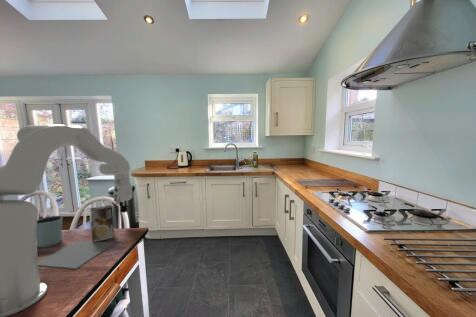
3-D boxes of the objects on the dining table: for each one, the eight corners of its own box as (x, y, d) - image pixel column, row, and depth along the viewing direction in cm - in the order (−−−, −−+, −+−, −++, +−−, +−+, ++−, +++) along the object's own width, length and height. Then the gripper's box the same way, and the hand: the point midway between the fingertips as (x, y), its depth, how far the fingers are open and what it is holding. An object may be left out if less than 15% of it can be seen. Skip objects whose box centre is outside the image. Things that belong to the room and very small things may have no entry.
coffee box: (112, 233, 103) (112, 204, 102) (114, 237, 98) (113, 207, 97) (91, 238, 97) (90, 207, 97) (91, 243, 92) (90, 210, 92)
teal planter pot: (32, 245, 92) (30, 221, 91) (59, 236, 101) (57, 214, 100) (40, 250, 87) (38, 225, 86) (68, 240, 96) (66, 217, 95)
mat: (76, 269, 73) (76, 268, 73) (32, 265, 76) (32, 264, 76) (114, 243, 92) (114, 243, 92) (78, 241, 95) (78, 240, 95)
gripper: (118, 184, 103) (120, 216, 104) (136, 179, 118) (137, 208, 119) (105, 183, 104) (107, 216, 105) (125, 179, 119) (127, 207, 120)
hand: (123, 211), depth 112 cm, fingers closed
